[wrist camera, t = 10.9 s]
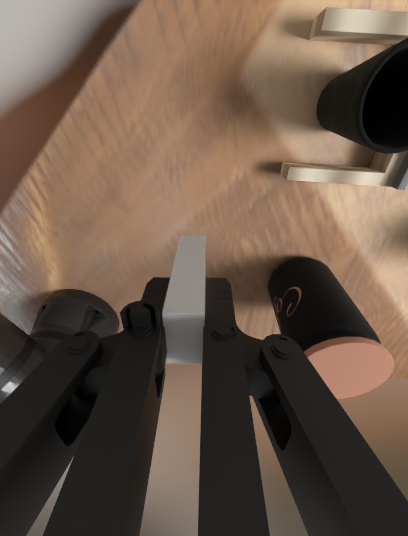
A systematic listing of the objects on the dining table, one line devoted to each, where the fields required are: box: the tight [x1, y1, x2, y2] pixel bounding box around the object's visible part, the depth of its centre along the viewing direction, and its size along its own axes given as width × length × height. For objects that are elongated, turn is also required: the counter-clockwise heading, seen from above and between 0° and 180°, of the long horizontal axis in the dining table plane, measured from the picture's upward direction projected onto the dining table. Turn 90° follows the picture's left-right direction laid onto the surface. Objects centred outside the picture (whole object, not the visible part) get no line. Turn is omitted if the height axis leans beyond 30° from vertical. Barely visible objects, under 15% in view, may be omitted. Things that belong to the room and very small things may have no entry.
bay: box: [280, 7, 408, 190], centre depth 27 cm, size 14×15×5 cm
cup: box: [317, 38, 408, 154], centre depth 23 cm, size 8×8×12 cm
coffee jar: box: [268, 258, 394, 399], centre depth 35 cm, size 11×11×18 cm
